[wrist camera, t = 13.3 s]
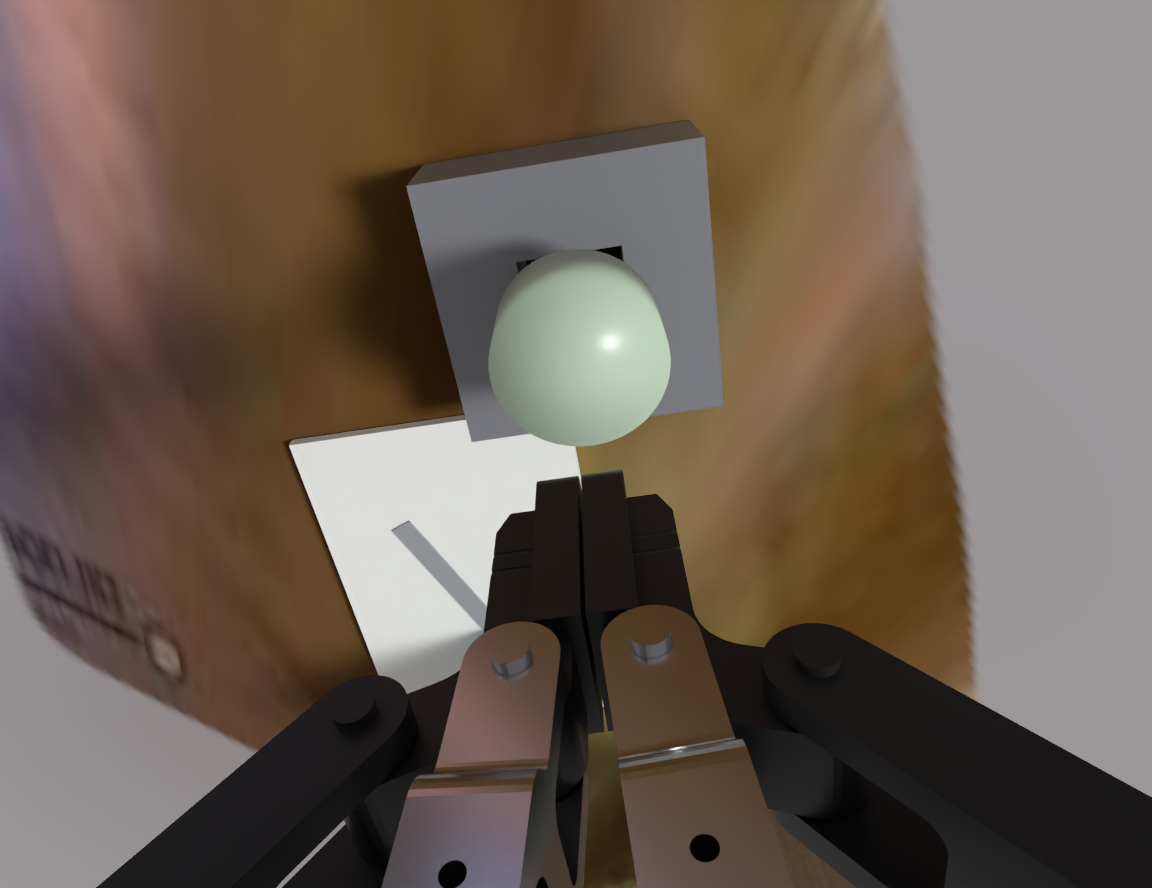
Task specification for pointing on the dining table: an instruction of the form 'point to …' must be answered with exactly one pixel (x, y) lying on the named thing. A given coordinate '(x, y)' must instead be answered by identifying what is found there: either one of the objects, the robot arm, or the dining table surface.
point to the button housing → (573, 246)
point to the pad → (421, 530)
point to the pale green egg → (578, 349)
